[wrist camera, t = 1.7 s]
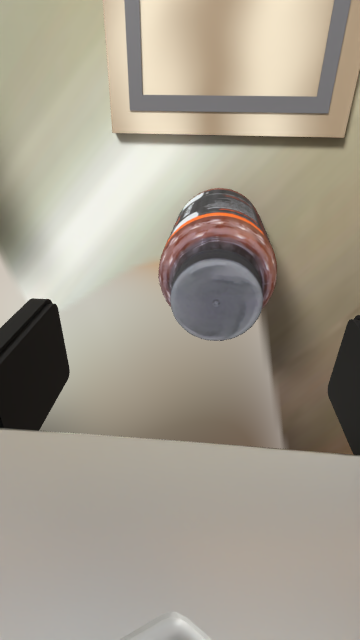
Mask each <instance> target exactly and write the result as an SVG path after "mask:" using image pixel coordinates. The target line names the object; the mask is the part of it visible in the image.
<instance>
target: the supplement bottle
mask: <svg viewBox="0 0 360 640" xmlns="http://www.w3.org/2000/svg"><path fill="white" fill-rule="evenodd" d="M276 278H277V263H276V258H275V254H274V251H273V248H272V246H271V244H270V241H269V238H268V236H267V233H266V231H265V229H264V226H263V224H262V221H261V219H260V216H259V215H258V213H257V211H256V209H255V207H254V206H253V204H252V203H251V202H250V201H249V200H248V199H247V198H246V197H245V196H243V195H242V194H240V193H238V192H236V191H233V190H230V189H223V188H216V189H210V190H207V191H204V192H202V193H199V194H198V195H196V196H195V197H193V198H192V199H191V200H190V201H189V202H188V203H187V204H186V205H185V207H184V208H183V209H182V211H181V213H180V214H179V216H178V219H177V221H176V223H175V225H174V228H173V230H172V232H171V235H170V237H169V239H168V241H167V243H166V245H165V248H164V250H163V253H162V256H161V259H160V266H159V282H160V286H161V290H162V293H163V295H164V297H165V299H166V301H167V303H168V304H169V305H170V307H171V309H172V312H173V314H174V317H175V319H176V320H177V322H178V323H179V324H180V325H181V326H182V327H183V328H184V329H185V330H186V331H187V332H189V333H190V334H192V335H194V336H196V337H199V338H201V339H205V340H214V341H218V340H220V341H223V340H227V339H232V338H235V337H237V336H239V335H241V334H243V333H245V331H247V330H248V329H249V328H251V327H252V325H253V324H254V323H255V322H256V320H257V319H258V317H259V315H260V313H261V310H262V308H264V306H265V305H266V304H267V302H268V301H269V299H270V297H271V295H272V293H273V291H274V288H275V284H276Z"/></svg>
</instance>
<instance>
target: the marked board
mask: <svg viewBox="0 0 360 640" xmlns="http://www.w3.org/2000/svg"><path fill="white" fill-rule="evenodd" d="M103 11H104V25H105V38H106V52H107V65H108V79H109V92H110V106H111V119H112V133H139V134H190V135H240V136H290V137H341V138H344V136H345V131H346V127H347V122H348V118H349V114H350V109H351V105H352V100H353V96H354V92H355V87H356V83H357V78H358V74H359V70H360V0H103Z"/></svg>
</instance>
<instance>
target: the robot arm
mask: <svg viewBox="0 0 360 640" xmlns="http://www.w3.org/2000/svg"><path fill="white" fill-rule="evenodd" d="M68 377H69V365H68V359H67V354H66V349H65V343H64V338H63V333H62V328H61V323H60V317H59V312H58V307H57V305H56V304H52V302H51V300H49V299H30V300H29V301H28V302H27V303H26V304H25V305H24V306H23V307H22V308H21V309H20V310H19V311H17V312H16V314H14V315H13V316H12V317H11V318H10V319H9V320H8V321H7V322H6V323H5V324H4V325H3V326H2V327H1V328H0V640H360V315H357V316H356V317H355V318H354V320H352V319H351V320H349V321H348V324H347V326H346V330H345V333H344V336H343V339H342V343H341V346H340V349H339V352H338V356H337V359H336V362H335V365H334V368H333V372H332V375H331V378H330V381H329V385H328V396H329V399H330V401H331V403H332V406H333V408H334V410H335V412H336V415H337V417H338V419H339V422H340V424H341V426H342V429H343V431H344V433H345V436H346V438H347V440H348V443H349V445H350V447H351V450H352V452H353V454H354V455H350V454H338V453H326V452H313V451H301V450H289V449H276V448H263V447H250V446H238V445H225V444H213V443H200V442H186V441H172V440H160V439H147V438H146V439H145V438H134V437H120V436H106V435H93V434H79V433H65V432H51V431H50V432H49V431H39V429H40V428H41V426H42V424H43V422H44V421H45V419H46V417H47V415H48V413H49V412H50V410H51V408H52V406H53V405H54V403H55V401H56V399H57V398H58V396H59V394H60V392H61V391H62V389H63V387H64V385H65V383H66V382H67V380H68Z"/></svg>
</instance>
